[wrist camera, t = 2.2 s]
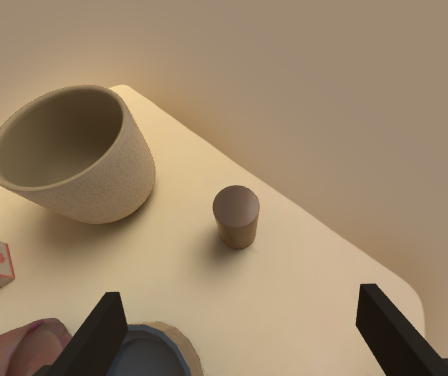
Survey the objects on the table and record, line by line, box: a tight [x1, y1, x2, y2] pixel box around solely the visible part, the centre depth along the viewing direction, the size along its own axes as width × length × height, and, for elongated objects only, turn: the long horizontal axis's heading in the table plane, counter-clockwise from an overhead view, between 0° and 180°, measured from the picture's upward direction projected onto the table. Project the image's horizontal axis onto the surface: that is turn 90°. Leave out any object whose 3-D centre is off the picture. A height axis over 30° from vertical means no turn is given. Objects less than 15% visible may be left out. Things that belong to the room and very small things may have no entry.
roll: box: [213, 185, 259, 249], centre depth 31 cm, size 6×6×10 cm
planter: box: [0, 85, 156, 224], centre depth 34 cm, size 17×17×15 cm
